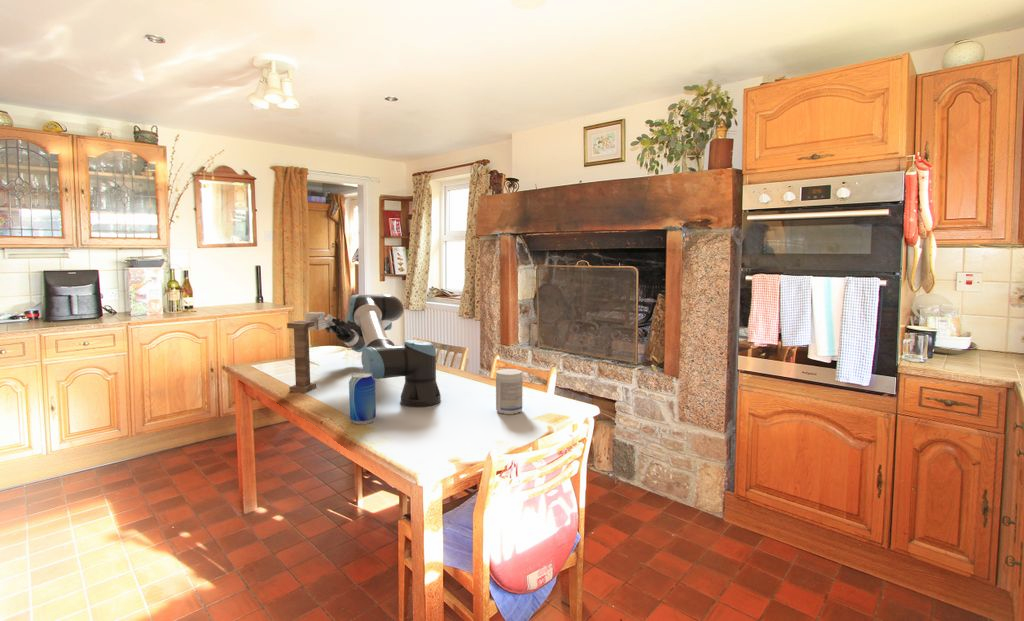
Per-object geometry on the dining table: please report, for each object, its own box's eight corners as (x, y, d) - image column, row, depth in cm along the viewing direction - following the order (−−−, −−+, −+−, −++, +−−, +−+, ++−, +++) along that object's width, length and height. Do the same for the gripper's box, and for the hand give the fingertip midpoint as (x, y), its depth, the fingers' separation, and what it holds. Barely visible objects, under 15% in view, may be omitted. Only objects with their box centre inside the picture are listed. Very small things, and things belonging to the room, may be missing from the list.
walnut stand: (305, 393, 206) (302, 324, 203) (289, 391, 207) (287, 323, 204) (316, 387, 214) (314, 321, 210) (301, 386, 215) (298, 320, 212)
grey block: (318, 330, 215) (318, 313, 214) (305, 329, 216) (305, 313, 215) (338, 324, 230) (338, 309, 230) (326, 324, 231) (325, 308, 231)
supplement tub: (527, 411, 186) (528, 371, 184) (508, 417, 179) (509, 376, 178) (509, 405, 193) (509, 367, 191) (490, 410, 186) (490, 371, 185)
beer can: (366, 415, 179) (365, 370, 177) (380, 420, 174) (380, 374, 172) (344, 421, 173) (343, 375, 171) (359, 427, 167) (358, 379, 166)
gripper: (361, 343, 242) (339, 325, 221) (329, 342, 245) (304, 323, 224) (365, 329, 245) (343, 309, 223) (333, 327, 248) (308, 308, 227)
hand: (323, 316), depth 224 cm, fingers closed on grey block, 3 cm apart
